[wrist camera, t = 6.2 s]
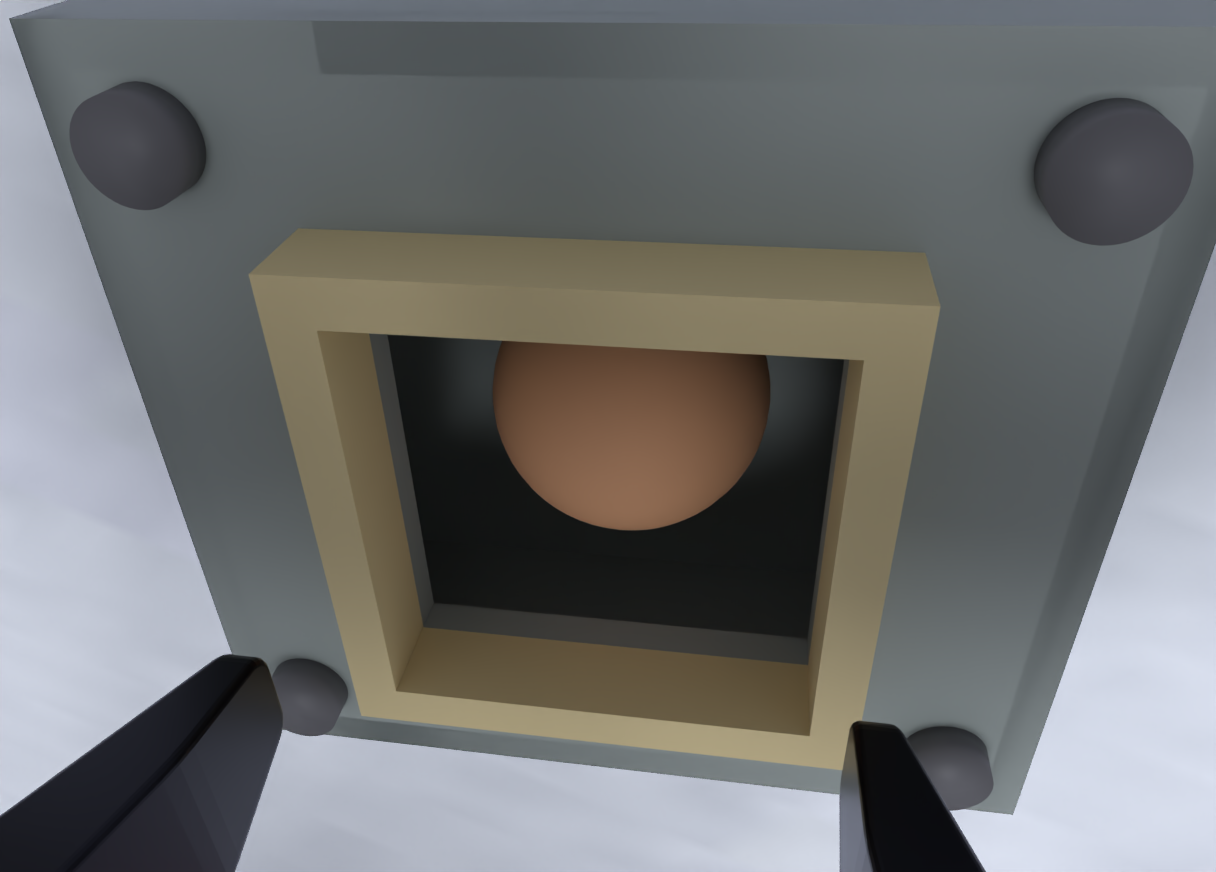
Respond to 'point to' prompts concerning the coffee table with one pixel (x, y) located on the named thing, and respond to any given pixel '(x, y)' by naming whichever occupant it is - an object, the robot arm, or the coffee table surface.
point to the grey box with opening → (649, 347)
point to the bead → (629, 427)
